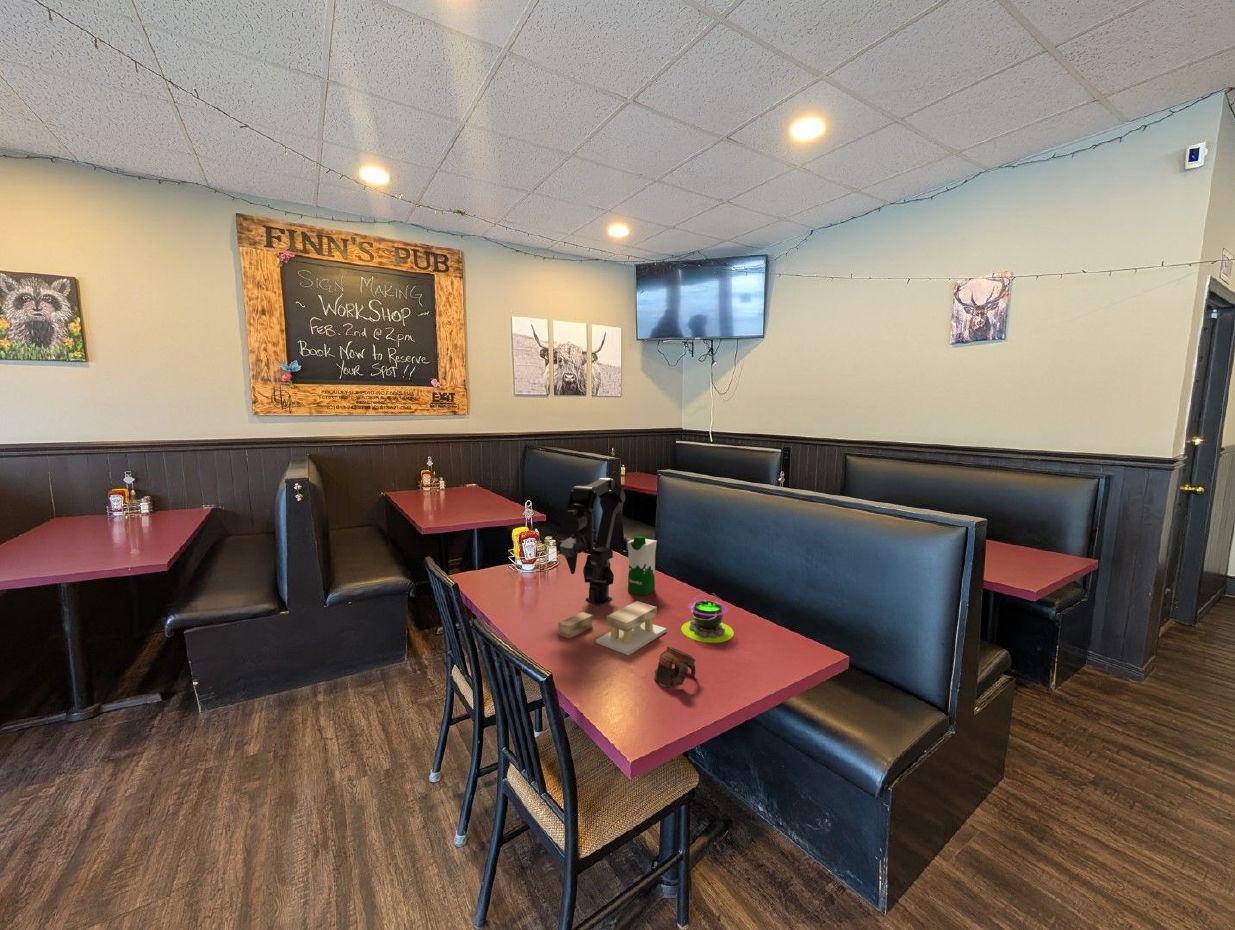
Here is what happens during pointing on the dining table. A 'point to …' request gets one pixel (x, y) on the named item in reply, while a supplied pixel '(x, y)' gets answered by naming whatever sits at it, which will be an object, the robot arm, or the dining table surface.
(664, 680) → the pottery mug
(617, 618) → the board
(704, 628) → the toy cauldron
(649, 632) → the peg frame
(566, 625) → the block
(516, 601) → the dining table surface
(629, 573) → the milk carton
